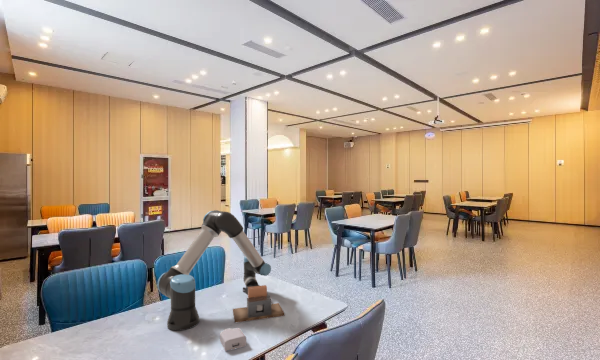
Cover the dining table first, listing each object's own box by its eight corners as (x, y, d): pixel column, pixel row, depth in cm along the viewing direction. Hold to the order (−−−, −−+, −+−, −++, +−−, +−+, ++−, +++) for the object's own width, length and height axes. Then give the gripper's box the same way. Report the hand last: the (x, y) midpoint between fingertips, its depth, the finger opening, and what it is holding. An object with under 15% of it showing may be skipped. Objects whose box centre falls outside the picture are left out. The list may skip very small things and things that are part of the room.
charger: (236, 331, 147) (246, 346, 134) (216, 336, 143) (225, 352, 130) (236, 321, 147) (246, 335, 134) (216, 326, 143) (225, 341, 130)
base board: (234, 322, 156) (234, 319, 156) (232, 311, 169) (232, 308, 169) (284, 315, 163) (284, 313, 163) (278, 305, 177) (278, 303, 177)
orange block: (250, 315, 160) (249, 292, 160) (248, 309, 168) (247, 287, 168) (269, 313, 162) (268, 290, 162) (266, 306, 171) (265, 285, 171)
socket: (248, 317, 158) (248, 302, 158) (247, 313, 164) (246, 298, 164) (271, 314, 161) (271, 299, 161) (269, 310, 167) (269, 295, 167)
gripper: (262, 289, 194) (269, 303, 172) (241, 291, 191) (245, 306, 168) (262, 277, 194) (268, 290, 172) (241, 279, 191) (245, 293, 168)
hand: (257, 298), depth 170 cm, fingers closed
